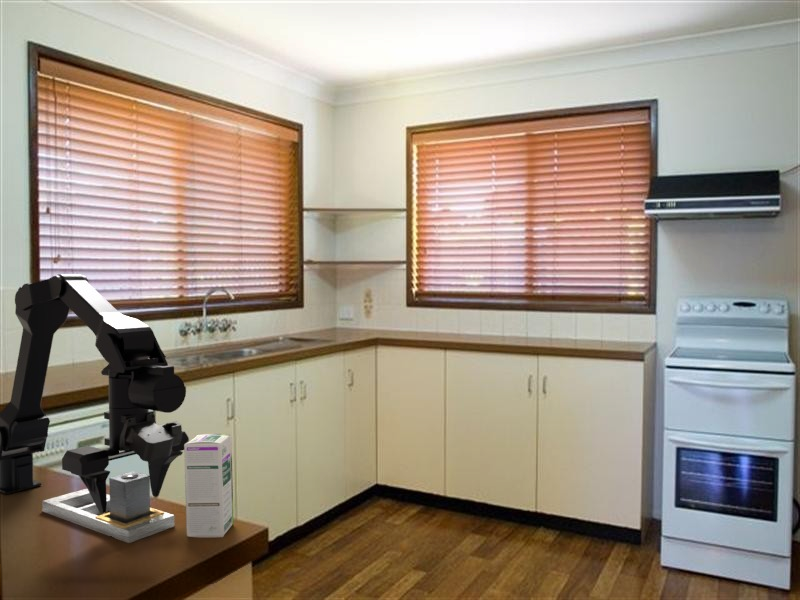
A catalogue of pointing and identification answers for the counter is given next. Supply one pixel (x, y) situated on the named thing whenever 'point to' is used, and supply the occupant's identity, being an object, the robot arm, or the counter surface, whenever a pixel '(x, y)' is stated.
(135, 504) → the gray knob block
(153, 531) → the socket frame
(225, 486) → the syrup box
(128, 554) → the counter surface
